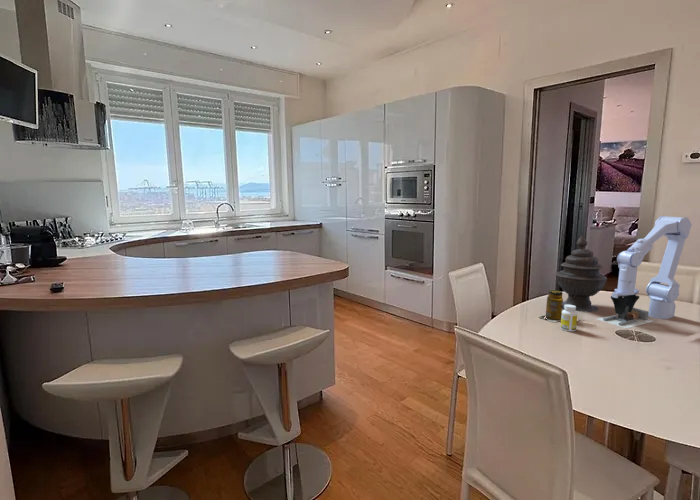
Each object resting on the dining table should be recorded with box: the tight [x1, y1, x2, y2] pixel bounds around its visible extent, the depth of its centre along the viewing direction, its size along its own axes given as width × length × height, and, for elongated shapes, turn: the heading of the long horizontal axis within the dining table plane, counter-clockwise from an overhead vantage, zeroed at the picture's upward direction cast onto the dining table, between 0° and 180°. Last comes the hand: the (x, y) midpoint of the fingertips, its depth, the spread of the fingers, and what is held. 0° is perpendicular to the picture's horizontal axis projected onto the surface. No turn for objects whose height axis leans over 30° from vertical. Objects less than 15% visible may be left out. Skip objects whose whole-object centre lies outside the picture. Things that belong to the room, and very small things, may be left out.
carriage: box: [615, 305, 635, 322], centre depth 157 cm, size 6×4×6 cm
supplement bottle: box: [560, 304, 578, 333], centre depth 150 cm, size 5×5×10 cm
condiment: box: [538, 289, 564, 323], centre depth 164 cm, size 7×8×12 cm
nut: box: [628, 310, 639, 320], centre depth 159 cm, size 4×4×3 cm
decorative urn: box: [555, 235, 608, 313], centre depth 174 cm, size 20×20×35 cm
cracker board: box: [596, 307, 656, 329], centre depth 158 cm, size 20×12×5 cm, turn 114°
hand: (623, 312), depth 156 cm, fingers open, 5 cm apart
